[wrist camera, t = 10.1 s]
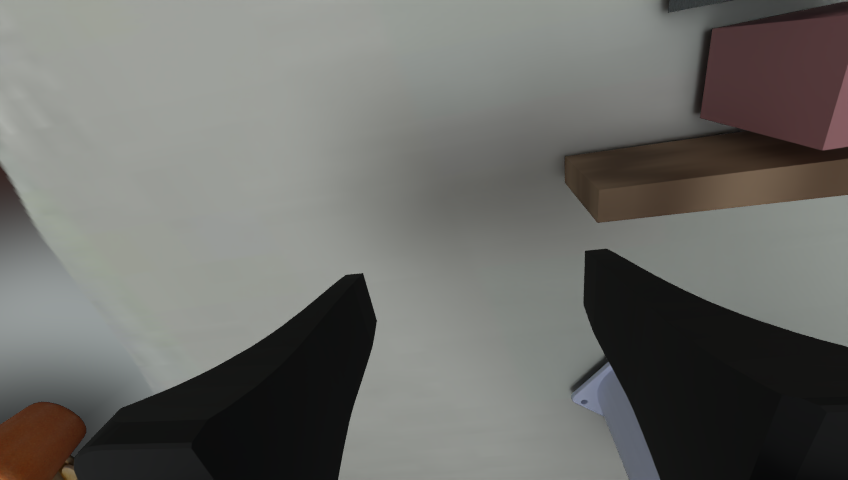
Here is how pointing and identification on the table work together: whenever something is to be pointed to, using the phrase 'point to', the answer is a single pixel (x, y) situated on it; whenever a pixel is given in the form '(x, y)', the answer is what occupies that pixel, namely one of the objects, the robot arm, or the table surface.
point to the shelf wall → (703, 175)
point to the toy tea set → (40, 443)
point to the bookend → (690, 4)
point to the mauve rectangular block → (783, 77)
